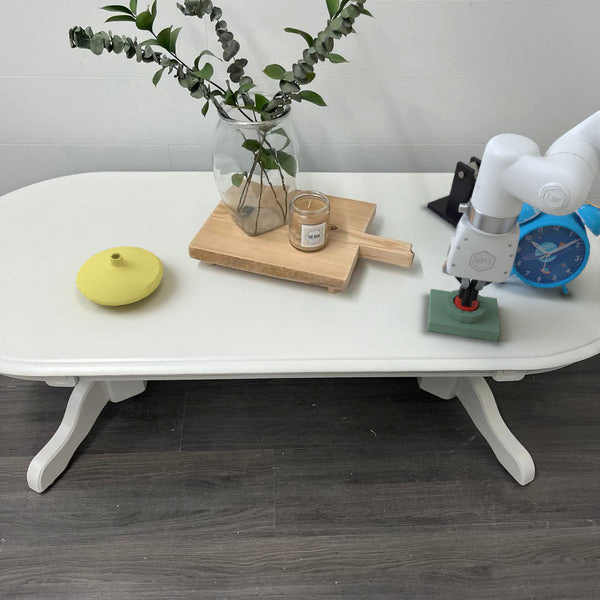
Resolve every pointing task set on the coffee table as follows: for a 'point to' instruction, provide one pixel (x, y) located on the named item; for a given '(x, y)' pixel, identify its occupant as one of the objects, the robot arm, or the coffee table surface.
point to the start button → (465, 308)
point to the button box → (463, 316)
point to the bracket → (456, 193)
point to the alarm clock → (554, 245)
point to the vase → (119, 275)
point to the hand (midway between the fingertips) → (465, 301)
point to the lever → (475, 167)
